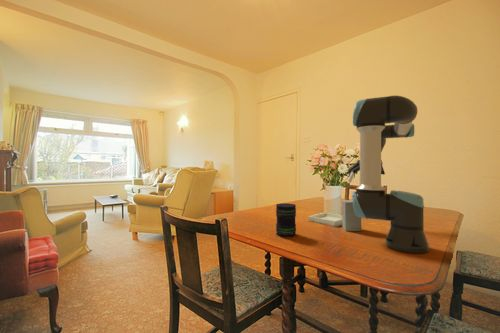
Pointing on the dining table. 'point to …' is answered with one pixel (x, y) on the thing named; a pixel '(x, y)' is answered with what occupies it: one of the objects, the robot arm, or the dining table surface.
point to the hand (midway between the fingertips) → (360, 182)
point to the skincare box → (350, 217)
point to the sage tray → (327, 219)
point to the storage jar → (286, 220)
